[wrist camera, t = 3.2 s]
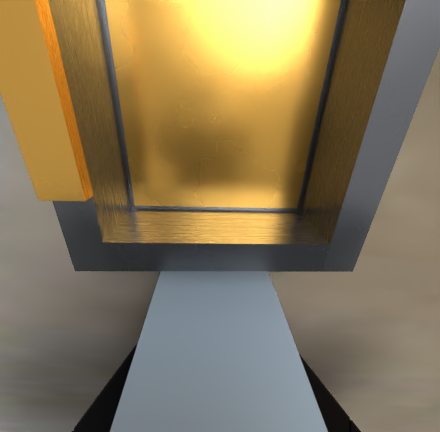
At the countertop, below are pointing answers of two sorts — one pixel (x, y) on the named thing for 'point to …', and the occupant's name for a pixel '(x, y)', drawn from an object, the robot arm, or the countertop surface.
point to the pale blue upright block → (216, 360)
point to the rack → (214, 124)
